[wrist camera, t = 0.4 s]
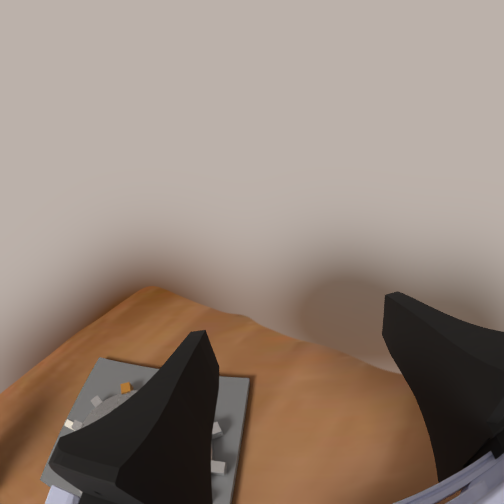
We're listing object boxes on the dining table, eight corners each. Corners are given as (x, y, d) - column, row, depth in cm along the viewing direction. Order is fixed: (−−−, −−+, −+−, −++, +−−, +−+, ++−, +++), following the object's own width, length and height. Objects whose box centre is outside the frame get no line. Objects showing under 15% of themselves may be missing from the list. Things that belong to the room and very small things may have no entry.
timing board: (222, 555, 11) (219, 556, 10) (45, 482, 13) (38, 479, 13) (250, 382, 29) (249, 377, 28) (102, 361, 31) (98, 356, 31)
